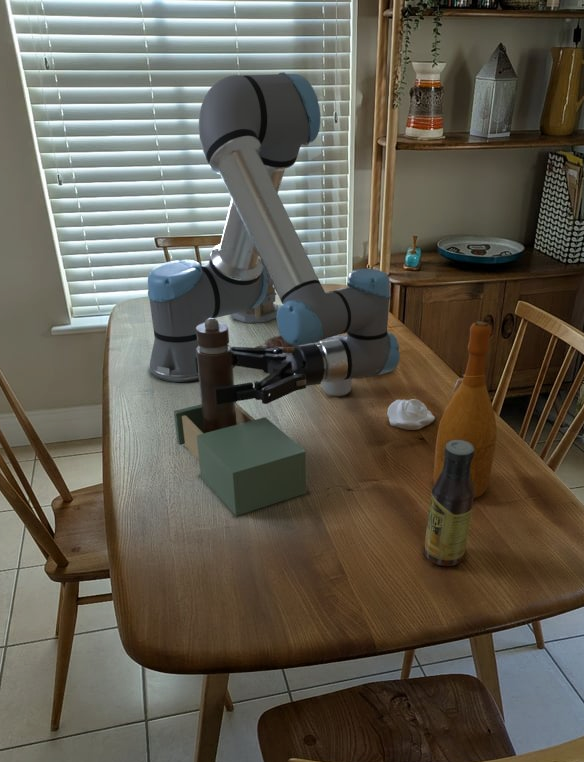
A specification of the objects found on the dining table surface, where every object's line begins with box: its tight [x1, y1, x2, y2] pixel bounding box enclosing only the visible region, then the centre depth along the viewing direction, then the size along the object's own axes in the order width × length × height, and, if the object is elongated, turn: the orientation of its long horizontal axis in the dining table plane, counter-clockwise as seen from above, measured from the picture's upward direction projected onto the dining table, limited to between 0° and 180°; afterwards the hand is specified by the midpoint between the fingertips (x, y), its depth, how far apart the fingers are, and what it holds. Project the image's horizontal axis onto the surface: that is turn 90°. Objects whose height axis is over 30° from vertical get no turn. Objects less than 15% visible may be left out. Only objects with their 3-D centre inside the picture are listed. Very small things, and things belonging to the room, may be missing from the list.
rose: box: [387, 398, 436, 431], centre depth 148 cm, size 10×4×10 cm
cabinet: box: [197, 416, 307, 517], centre depth 126 cm, size 14×13×8 cm
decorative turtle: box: [253, 334, 296, 355], centre depth 174 cm, size 18×17×5 cm
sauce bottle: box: [424, 440, 475, 567], centre depth 107 cm, size 7×6×20 cm
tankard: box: [230, 263, 279, 324], centre depth 192 cm, size 20×13×15 cm, turn 6°
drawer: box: [173, 401, 256, 462], centre depth 135 cm, size 15×12×7 cm
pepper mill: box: [196, 318, 237, 433], centre depth 129 cm, size 6×6×24 cm
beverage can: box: [321, 334, 353, 397], centre depth 157 cm, size 6×6×12 cm
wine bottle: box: [433, 321, 498, 499], centre depth 120 cm, size 10×10×30 cm
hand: (205, 380), depth 127 cm, fingers open, 13 cm apart
